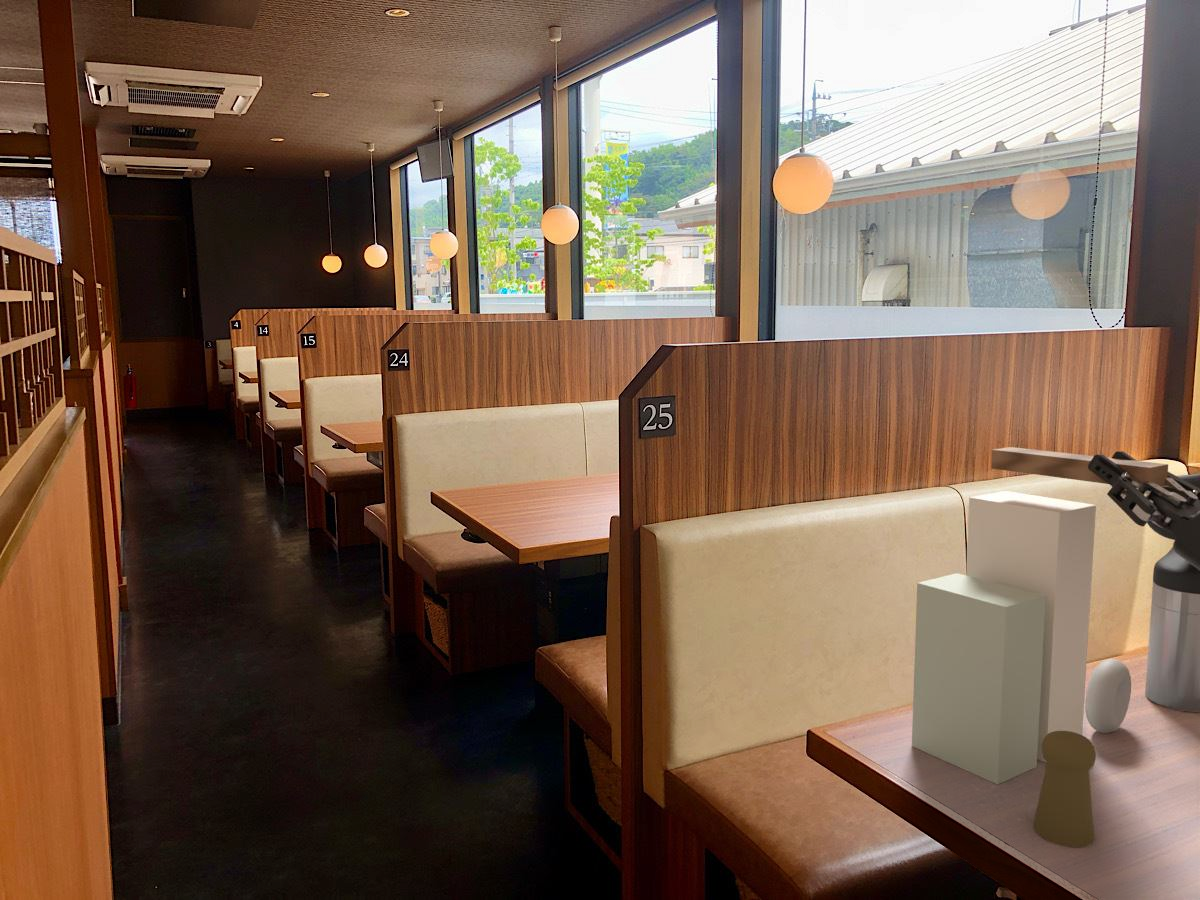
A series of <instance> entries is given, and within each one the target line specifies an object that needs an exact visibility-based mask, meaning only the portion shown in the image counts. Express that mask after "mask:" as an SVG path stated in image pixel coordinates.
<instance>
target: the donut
mask: <svg viewBox="0 0 1200 900" xmlns="http://www.w3.org/2000/svg"><path fill="white" fill-rule="evenodd" d="M1085 694H1086V696H1085V702H1084V710H1085V716H1086V720H1087V721H1088V724H1089V725H1090V727H1091V728H1092V729H1094V730H1095V731H1097V732H1099V733H1101V734H1111V733H1113V732H1114V731H1116V730H1117V729H1119V728H1120V727H1121V725H1122V724H1123V722H1124V719H1125V718H1126V715H1127V712H1128V709H1129V707H1130V706H1129V705H1130V700H1131V694H1132V678H1131V673H1130V670H1129V668H1128V667H1127V666H1126V664H1124V662H1122V661H1120V660H1119V659H1117V658H1108V659H1104V660H1101V662H1099V664H1098V665H1097V666H1096V667H1095V669H1093V672H1092V674H1091V676H1090V679H1089V682H1088V685H1087V689H1086V692H1085Z"/></svg>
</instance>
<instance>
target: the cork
mask: <svg viewBox="0 0 1200 900" xmlns="http://www.w3.org/2000/svg"><path fill="white" fill-rule="evenodd" d="M1042 754H1043V758H1044V759H1045V761H1046V762H1045V769H1044V772H1043V777H1042V782H1041V787H1040V790H1039V796H1038V801H1037V805H1036V810H1035V815H1034V820H1033V825H1032V826H1033V830H1034V831H1035V833H1036V835H1038V836H1039V837H1040V838H1042V839H1044V840H1046V841H1048V842H1050V843H1052V844H1055V845H1058V846H1062V847H1068V848H1086V847H1088V846H1091V845H1093V844H1094V842H1095V841H1096V837H1095V827H1094V825H1095V823H1094V814H1093V803H1092V794H1091V793H1092V791H1091V783H1090V782H1091V780H1090V770H1091V769H1092V767H1094V765H1095V763H1096V757H1097V755H1096V754H1097V752H1096V749H1095V745H1094V744H1093V742H1092V740H1090V739H1089V738H1087V737H1086V736H1084V735H1083V734H1082V735H1080V734H1078V733H1074V732H1070V731H1054V732H1051V733H1048V734H1047V735H1046V737H1045V738H1044V739H1043V742H1042Z"/></svg>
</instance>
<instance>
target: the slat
mask: <svg viewBox="0 0 1200 900" xmlns="http://www.w3.org/2000/svg"><path fill="white" fill-rule="evenodd" d="M1094 456H1095V455H1086V454H1085V455H1084V454H1078V453H1077V454H1076V453H1069V452H1059V451H1051V450H1041V449H1040V450H1039V449H1031V448H1021V447H1014V446H1013V447H1012V446H1008V447H1002V448H1001V447H1000V448H995V449H994V448H993V449H991V462H990V463H991V464H990V466H991V467H990V468H991V469H992V470H1000V471H1007V472H1015V473H1020V474H1021V473H1022V474H1028V475H1029V474H1030V475H1038V476H1043V477H1044V476H1045V477H1053V478H1059V479H1067V480H1074V481H1075V480H1077V481H1081V482H1082V481H1083V482H1089V483H1095V484H1096V483H1097V484H1098V483H1099V484H1105V485H1109V484H1108V483H1107V482H1105V481H1104V480H1102V479H1101V478H1100V477H1098V476H1097V475H1096V474H1094V473H1093V472H1091V471H1090V470H1089V469H1088V464H1089V463H1090V461H1091V460H1092V458H1093V457H1094ZM1107 458H1108V459H1110V460H1111V461H1112V462H1114V463H1115V464H1116V465H1118V466H1119V467H1120V468H1122V469H1123V470H1125V472H1127V473H1130V474H1131V475H1133V476H1135V477H1136V478H1138V479H1139V480H1140V481H1142V482H1145V481H1149V482H1150V481H1152V482H1153V483H1155V484H1157V485H1159V486H1160V487H1163V486H1167V485H1165V478H1167V477H1168V472H1169V464H1167V463H1159V462H1151V461H1149V462H1148V461H1142V460H1137V461H1133V460H1123V459H1114V458H1112V457H1107ZM1134 486H1135V485H1134ZM1135 487H1136V488H1137V489H1138V487H1137V486H1135Z"/></svg>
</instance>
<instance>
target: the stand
mask: <svg viewBox="0 0 1200 900" xmlns="http://www.w3.org/2000/svg"><path fill="white" fill-rule="evenodd" d="M1096 509H1097V504H1092V503H1085V502H1080V501H1079V502H1078V501H1072V500H1066V499H1060V498H1053V497H1047V496H1041V495H1033V494H1028V493H1022V492H1021V493H1020V492H1014V491H1009V490H1003V491H997V492H993V493H992V492H991V493H988V494H986V493H985V494H981V495H976V496H969V498H968V520H967V523H968V524H967V540H966V541H967V545H966V567H965V568H966V569H965V574H962V573H957V572H955V573H953V574H947V575H943V576H940V577H939V576H938V577H937V578H933V579H927V580H923V581H919V582H916V583H917V585H916V610H915V612H916V613H915V615H916V616H915V635H914V636H915V637H914V638H915V642H914V667H913V668H914V669H913V671H914V672H913V673H914V674H913V696H912V697H913V699H912V700H913V702H912V725H911V726H912V730H911V732H912V733H911V746H912V747H914V748H915V749H917V750H920V751H923V752H924V753H926V754H929V755H931V756H933V757H936V758H938V759H940V760H942V761H944V762H946V763H949V764H951V765H953V766H956V767H958V768H960V769H962V770H964V771H967V772H969V773H971V774H973V775H976V776H978V777H980V778H982V779H984V780H986V781H989V782H991V783H993V784H996V785H1000V784H1002V783H1004V782H1006V781H1009V780H1011V779H1013V778H1015V777H1017V776H1020V775H1022V774H1024V773H1026V772H1028V771H1030V770H1032V769H1035V768H1037V766H1038V765H1037V764H1038V762H1037V761H1038V760H1039V761H1042V762H1044V763H1046V761H1045V759H1044V758H1043V754H1042V742H1043V739H1044V738H1045V737H1046V735H1047V734H1048V733H1051V732H1054V731H1070V732H1074V733H1078V734H1080V735H1083V728H1084V727H1083V726H1084V711H1085V698H1086V696H1085V694H1086V678H1087V660H1088V647H1089V646H1088V644H1089V627H1090V608H1091V599H1092V598H1091V596H1092V582H1093V581H1092V578H1093V577H1092V575H1093V561H1094V547H1095V545H1094V543H1095V530H1096V528H1095V527H1096V516H1097V515H1096V513H1097V512H1096V511H1097V510H1096Z"/></svg>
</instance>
